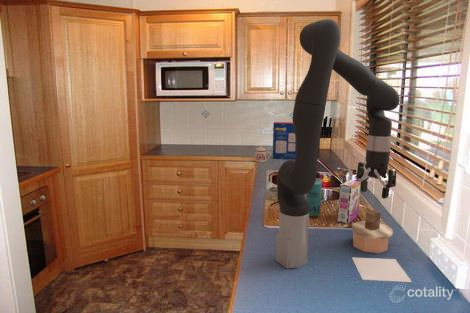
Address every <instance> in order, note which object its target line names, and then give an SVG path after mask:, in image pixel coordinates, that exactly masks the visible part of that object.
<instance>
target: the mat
mask: <svg viewBox="0 0 470 313" xmlns="http://www.w3.org/2000/svg"><path fill="white" fill-rule="evenodd" d="M351 259H352V261H353V263H354V265H355V267H356V269H357V271H358V273H359V276H360V277H361V279H362V281H379V282H397V283H398V282H401V283H402V282H403V283H413V282H412V279H411V278H410V277H409V275H408V274H407V273H406V271H405V270H404V269H403V268H402V266H401V265H400V264H399V262H398V261H397V259H395V258H376V257H375V258H374V257H372V258H371V257H351Z"/></svg>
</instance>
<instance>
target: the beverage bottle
mask: <svg viewBox="0 0 470 313" xmlns="http://www.w3.org/2000/svg"><path fill="white" fill-rule="evenodd" d="M320 178H321V174H320V172H318V171H317V174H316V181H315V184H314V186H313V188H312V190H311V191H310V192H308V193H307V194H305V195H306V197H305V199H306V200H307V202H308V203H309V217H310V216H311V217H317V216H319V215H320V214H321V208H322V207H321V205H322V185H323V183H322V181H321V180H320Z"/></svg>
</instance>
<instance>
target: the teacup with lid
mask: <svg viewBox="0 0 470 313" xmlns="http://www.w3.org/2000/svg"><path fill="white" fill-rule="evenodd" d="M267 154H269V156H267ZM271 155H272V154H271V152H270V151H268V150H267V149H266V148H265V147H263V146H262V145H259V146H258V147H257V148H255V149H254V161H255V163H265V162H267V159H270V158H271Z"/></svg>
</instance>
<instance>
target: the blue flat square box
mask: <svg viewBox="0 0 470 313" xmlns="http://www.w3.org/2000/svg"><path fill="white" fill-rule="evenodd" d="M296 151H297V142H296V136H295V132H294V127H293V121H292V122H291V121H290V122H287V121H286V122H285V121H284V122H283V121H281V122H280V121H274V122H273V128H272V160H294V161H295V158H296Z"/></svg>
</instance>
